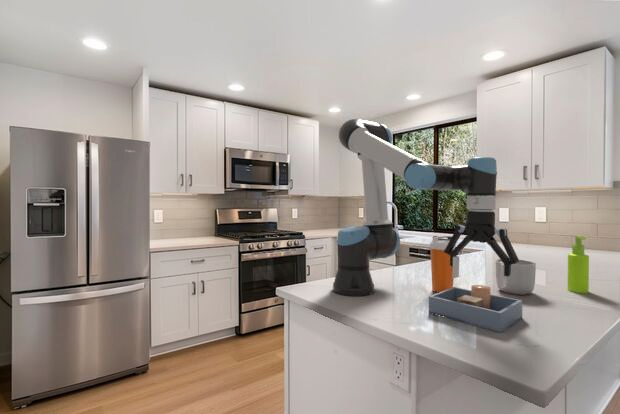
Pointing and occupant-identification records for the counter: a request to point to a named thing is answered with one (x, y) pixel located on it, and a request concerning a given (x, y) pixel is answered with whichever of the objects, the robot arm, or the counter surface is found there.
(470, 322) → the tote
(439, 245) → the shaker bottle
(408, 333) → the counter surface
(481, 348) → the counter surface
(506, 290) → the planter
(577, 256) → the soap dispenser
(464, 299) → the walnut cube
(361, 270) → the robot arm
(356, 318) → the counter surface
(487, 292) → the peach capsule pill
